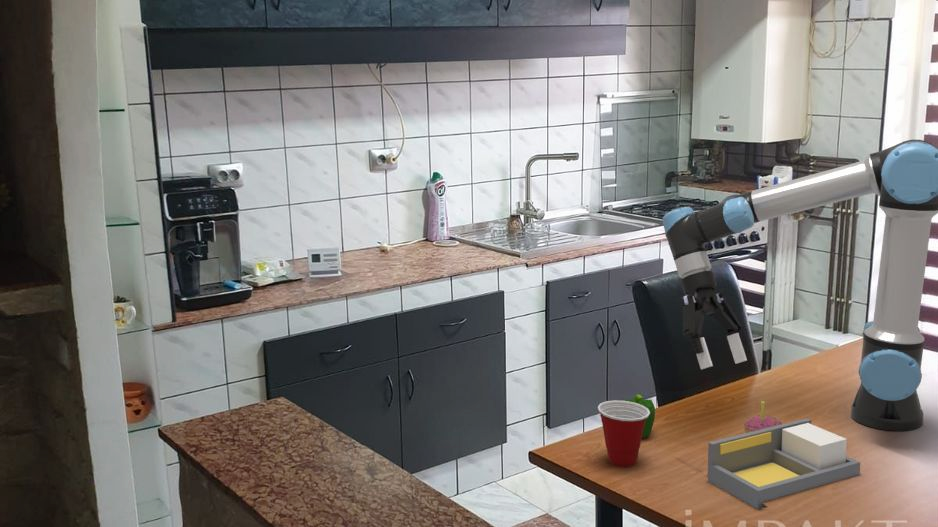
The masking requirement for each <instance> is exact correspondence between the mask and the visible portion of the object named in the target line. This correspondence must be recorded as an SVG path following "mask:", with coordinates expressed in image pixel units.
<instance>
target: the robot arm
mask: <svg viewBox="0 0 938 527" xmlns="http://www.w3.org/2000/svg"><path fill="white" fill-rule="evenodd" d="M872 194H875V195H876V196H879V202H878V207H879V208H880V210H882V211H883V212H884V214H885V218H884V227H883V235H882V236H883V237H882V244H881V253H880V254H881V255H880V261H879V271H878V278H877V286H876V287H877V288H876V293H875V294H876V296H875V303H874V304H875V305H874V312H873V313H874V314H873V321H872V320H871V321H867V322H866V323H864V325H863V331H862V333H861V334H862V348H861V349H862V350H861V358H860V364H859V366H858V367H859V368H858V375H859V379H860V386H859V387H858V390H857V392H856V395H855V397H854V400H853V402H852V404H851V407H850V408H851V409H850V416H851V418H852V420H854V421H855V422H857V423H859V424H861V425H864V426H865V427H869V428H873V429H876V430H877V429H878V430H883V431H892V432H893V431H894V432H895V431H896V432H899V431H900V432H901V431H902V432H903V431H904V432H905V431H910V430H911V431H912V430H916V429H919V428H921V427H922V426H923V424H924V411H923V409H922V408H921V407H922V406H921V402H920V398H919V395H918V391H917V389H918V388H919V386H920V384H921V382H922V377H923V375H922V362H923V361H922V360H923V353H924V347H925V346H924V345H925V336H924V335H923V334H922V333H921V329H920V328H919V322H920V320H919V319H920V313H921V306H922V305H921V304H922V298H923V297H922V296H923V290H924V289H923V288H924V281H925V275H926V274H925V273H926V265H927V257H928V251H929V243H930V235H931V234H930V233H931V229H932V228H931V227H932V221H933V220H932V219H933V218H934V217H935V216H936V215H938V147H937V146H936V145H935V144H932V143H931V142H930V141H929V142H928V141H926V140H924V139H909V140H908V139H907V140H904V141H902V142H899V143H897V144H896V145H892V146H890V147H887V148H885V149H882V150H879V151H877V152H873V153H869V154H868V155H866V158H865V159H864V160H861V161H857V162H853V163H849V164H846V165H842V166H839V167H835V168H832V169H828V170H824V171H821V172H816V173H812V174H809V175H805V176H802V177H797V178H794V179H791V180H787V181H783V182H779V183H776V184H772V185H767V186H764V187H762V188H758V189H754V190H751V191H748V192H743V193H740V194H739V193H738V194H731V195H728V196H726V197H725V198H724V199H723V200H721V201H720V202H719V203H717V204H715V205H713V206H711V207H708V208H705V209H703V210H701V211H698V212H697V211H696V212H695V211H694V210H693V208H692V207H690V206H685V207H684V206H683V207H679V208H675V209H673V210H671V211H669V212H667V213H665V214H664V216H663V217H662V224H663V228H664V232H665V237H666V240H667V243H668V246H669V248H670V251H671V254H672V257H673V261H674V264H675V267H676V270H677V274H678V277H679V278H680V279H681V280H680V285H681V287H682V290H683V294H684V296H682V297H680V300H681V301H680V302H681V305H682V336H683V338H684V339H685V341H686V342H690V341H691V343H692V346H693V351H694V353H695V354H696V358H697V362H698V364H699V368H700V370H704V369H708V368H711V367H713V366H714V365H713V361H712V359H711V355H710V351H709V349H708V345H707V342H706V339H705V337H704V336H703V337H702V332H703V325H704V320H705V315H709V316H711V317H713V318H714V319H715V321H716V322H718V324H719V325H720V326H721V327H722V328H723V329H724V331H725V332H726V333H727V335H726V339H727V342H728V345H729V349H730V351H731V354H732V357H733V361H734V364H739V363H743V362H746V361H748V359H747V356H746V352H745V348H744V346H743V343H742V339H741V336H740V333H742V332H743V329H744V325H743V324H742V323H741V321H740V319H739V318H738V316H737V315H736V313H735V312H734V310H733V308H732V307H731V305H730V303H729V302H728V300H727V297H726V296H725V293H724V292H723V291H720V292H718V293H716V292H715V288H716V287H717V284H718V283H717V281H716V280H717V279H716V276H715V274H714V271H712V270H711V269H712V263H711V262H710V258H709V255H708V253H707V249H706V245H707V244H710V243H712V242H715V241H718V240H721V239H725V238H727V237H730V236H732V235H735V234H741V233H742V232H744V231H746V230H749V229H751V228H752V227H753V226H754V225H755V224H757V223H759V222H764V221H766V220H771V219H776V218H780V217H784V216H787V215H791V214H795V213H800V212H803V211H808V210H811V209H814V208H815V209H816V208H819V207H824V206H827V205H831V204H835V203H839V202H843V201H848V200H851V199H856V198H860V197H863V196H867V195H872Z"/></svg>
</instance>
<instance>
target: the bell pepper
mask: <svg viewBox="0 0 938 527" xmlns="http://www.w3.org/2000/svg"><path fill="white" fill-rule="evenodd" d="M620 401H629V402H634V403H637V404H640V405H643V406H644V407H646V408H648V409H649V411H650V414H649V416H648V418H647V419H646V421H645V425H644V428H643V434H642V439H645V438H648V436H649V435H650V433H651V432H652V430H653V427H654V423H655V418H656V406H655V404H654V403H653V402H654V401H653V400H652V399H644V398H643V396H642V395H641V394H636V395H635V397H631V399H629V398H628V399H627V398H622V399H621V400H620Z"/></svg>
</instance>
